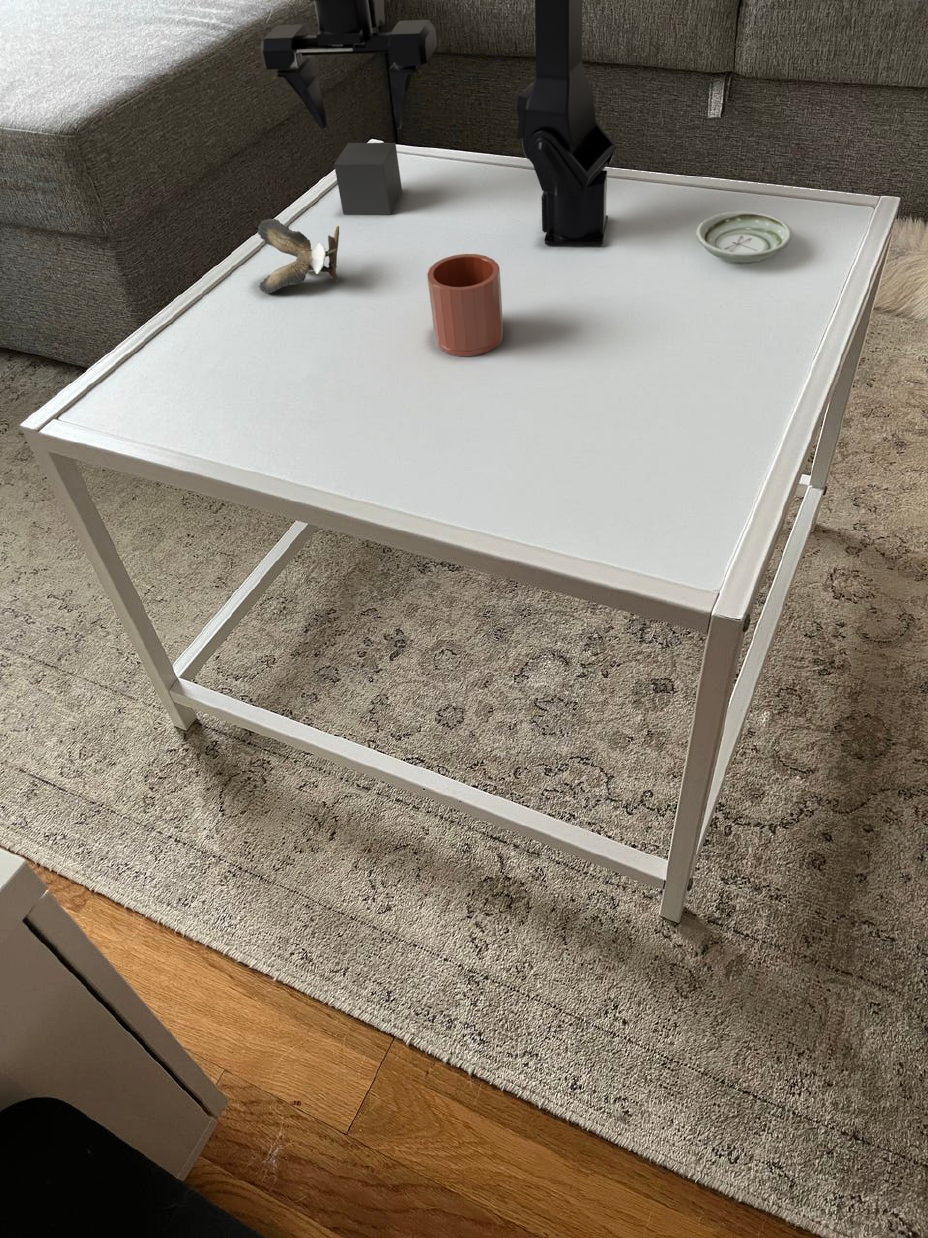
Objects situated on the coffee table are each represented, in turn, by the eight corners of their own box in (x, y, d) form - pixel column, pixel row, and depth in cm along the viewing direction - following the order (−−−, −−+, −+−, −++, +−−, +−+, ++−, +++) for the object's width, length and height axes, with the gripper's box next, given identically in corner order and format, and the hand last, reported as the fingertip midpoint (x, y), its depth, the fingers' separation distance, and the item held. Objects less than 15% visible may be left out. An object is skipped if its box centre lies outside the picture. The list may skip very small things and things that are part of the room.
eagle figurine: (341, 246, 106) (260, 239, 105) (338, 209, 98) (252, 201, 98) (337, 309, 104) (255, 302, 104) (334, 276, 97) (247, 269, 97)
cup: (508, 320, 94) (505, 254, 89) (496, 357, 90) (492, 290, 85) (443, 317, 96) (436, 252, 90) (428, 355, 91) (420, 288, 86)
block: (402, 192, 116) (395, 142, 112) (390, 214, 112) (382, 163, 108) (356, 192, 117) (348, 142, 113) (343, 214, 114) (333, 163, 109)
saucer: (768, 283, 95) (772, 260, 93) (679, 264, 99) (681, 242, 97) (801, 241, 100) (805, 218, 98) (715, 225, 104) (718, 203, 102)
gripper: (440, -58, 100) (454, 99, 112) (277, -49, 104) (307, 102, 115) (416, -27, 93) (433, 137, 104) (242, -19, 96) (277, 139, 108)
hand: (361, 127), depth 108 cm, fingers open, 9 cm apart
